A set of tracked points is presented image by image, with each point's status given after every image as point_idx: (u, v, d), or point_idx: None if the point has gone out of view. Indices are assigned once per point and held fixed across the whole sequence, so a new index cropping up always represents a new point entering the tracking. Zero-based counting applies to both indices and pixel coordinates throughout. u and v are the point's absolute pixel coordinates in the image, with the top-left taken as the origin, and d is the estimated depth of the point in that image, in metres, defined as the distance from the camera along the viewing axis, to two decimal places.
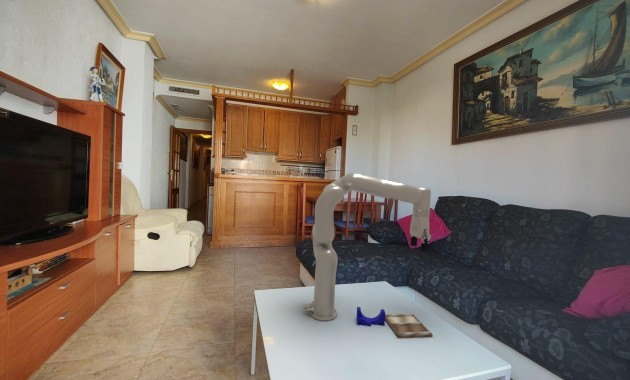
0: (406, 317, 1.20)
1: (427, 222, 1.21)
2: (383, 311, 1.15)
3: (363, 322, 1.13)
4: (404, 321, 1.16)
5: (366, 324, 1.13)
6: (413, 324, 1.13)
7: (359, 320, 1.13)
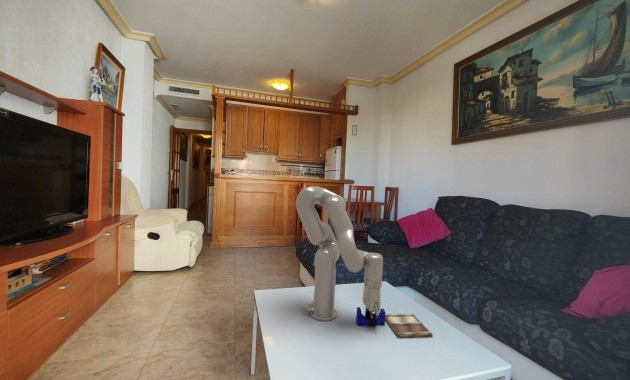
0: (406, 317, 1.20)
1: (378, 294, 1.10)
2: (383, 310, 1.15)
3: (364, 322, 1.13)
4: (404, 321, 1.16)
5: (367, 324, 1.13)
6: (413, 324, 1.13)
7: (360, 320, 1.13)
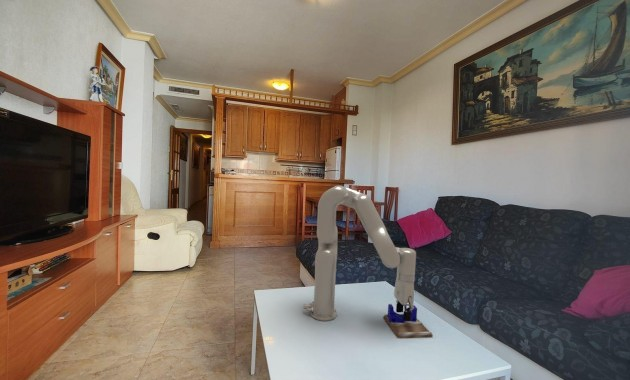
0: None
1: (411, 288, 1.12)
2: (414, 307, 1.17)
3: (396, 319, 1.15)
4: (404, 321, 1.16)
5: (399, 321, 1.15)
6: (413, 324, 1.13)
7: (392, 317, 1.15)
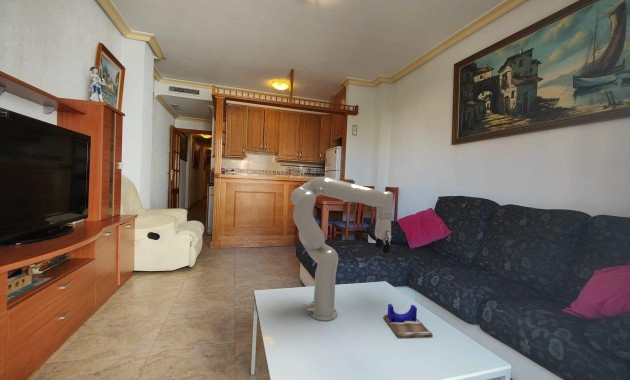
0: None
1: (389, 224, 1.27)
2: (414, 307, 1.17)
3: (396, 319, 1.15)
4: (404, 321, 1.16)
5: (399, 320, 1.15)
6: (413, 324, 1.13)
7: (392, 317, 1.15)
